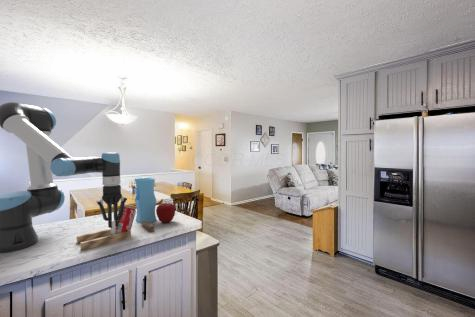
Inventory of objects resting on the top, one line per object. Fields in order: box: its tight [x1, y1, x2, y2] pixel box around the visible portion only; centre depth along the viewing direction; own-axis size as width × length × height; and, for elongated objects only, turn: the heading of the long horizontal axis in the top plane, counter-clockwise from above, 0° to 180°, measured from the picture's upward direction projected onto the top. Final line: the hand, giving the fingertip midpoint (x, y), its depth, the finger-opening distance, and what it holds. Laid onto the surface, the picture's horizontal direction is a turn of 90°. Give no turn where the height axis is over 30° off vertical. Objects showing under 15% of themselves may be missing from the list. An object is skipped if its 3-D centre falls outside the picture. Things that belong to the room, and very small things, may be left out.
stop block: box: [141, 221, 156, 233], centre depth 120 cm, size 2×12×3 cm, turn 43°
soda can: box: [115, 205, 137, 233], centre depth 113 cm, size 7×7×13 cm
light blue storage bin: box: [134, 177, 157, 224], centre depth 136 cm, size 10×10×25 cm
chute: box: [76, 228, 132, 251], centre depth 106 cm, size 20×12×3 cm, turn 133°
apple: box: [155, 202, 176, 224], centre depth 132 cm, size 11×11×12 cm
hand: (113, 233), depth 108 cm, fingers closed
